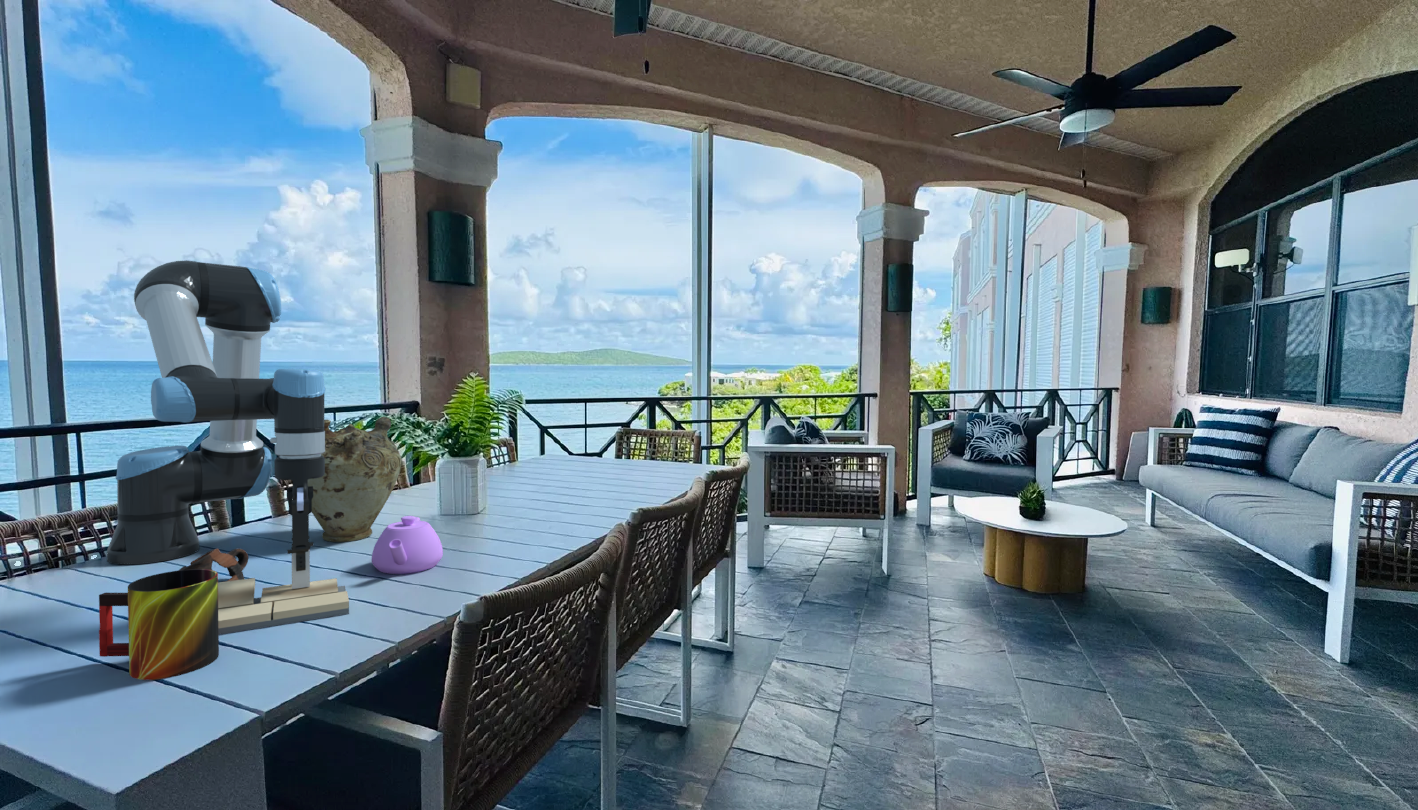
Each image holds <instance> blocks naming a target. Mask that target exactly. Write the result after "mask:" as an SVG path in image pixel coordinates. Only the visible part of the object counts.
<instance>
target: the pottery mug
mask: <svg viewBox="0 0 1418 810" xmlns="http://www.w3.org/2000/svg"><path fill="white" fill-rule="evenodd" d="M248 561H249V555H248V553H247V551H246V550H244V549H242V548H240V547H239V548H234V549H232V550H230V551H228V552H227V553H224V552H221V551H220V549H219V548H215V549H212V550H210V551H208V552H206V553H204V554H203V555H200V556H199V557H197V558H196V559H194V560H192V561H191V562H190V565H188V566H186V565H184V566H182V567H181V568H179V569H178V570H177V571H179V570H189V569H207V570H213V568H212V567H213V566H212V565H213V562H215V563H217V564H218V565H219V566H220V567H222V568H225V569H227V572H228V574H229V577H230V578H229V579H227V581H234V580H242V579H245V576H244V569H245V568H246V567H247V565H248Z"/></svg>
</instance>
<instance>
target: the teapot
mask: <svg viewBox="0 0 1418 810" xmlns="http://www.w3.org/2000/svg"><path fill="white" fill-rule="evenodd" d="M400 520H401V521H398V522H393V523H389V524H388V525H387V526H386V527H385V528H384V529H383V531H382V532H381V534H380V535H379V537H378V539H377V540H376V542H375V544H374V547H373V549H372V553H371V563H372V565H373V567H375V568H376V570H378V571H379V572H380V573H382V574H383V573H384V574H391V575H403V574H404V575H405V574H407V575H408V574H414V573H420V572H424V571H427V569H428V570H430V569H432V568H434V567H436V566H437V565H438V563H439V562H440V561H441V560H442V558H443V555H444V550H443V544H442V542H441V541H442V540H440V537H439V535H438V534H437V532H436V530H435V529H434V528H433V526H432V525H431V524H430V523H429V522H428V521H425V520H421V518H420V516H419V517H418V516H413V515H404V516H402V517H400Z"/></svg>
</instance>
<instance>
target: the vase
mask: <svg viewBox="0 0 1418 810" xmlns="http://www.w3.org/2000/svg"><path fill="white" fill-rule="evenodd" d="M330 425H331V420H330V419H327V418H326V419H324V431H325V452H324V453H322V454H321V455H322V456H323V457H324V458H325V474H324V475H323V476H322V477H319V478H315V479H308V486H313V498H312V512H311V514H312V515H313V517H314V518H315V520H316V521H317V522H318V524H319V525H320V527H321V529H322V530H323V532H322V535H321V537H322V539H323V540H324V541H326V542H331V543H344V542H353V541H361V540H363V539H364V540H365V539H366V538H368V537H371V536H372V534H373V529H372V526H373V525H374V523H375V522H376V519H377V518H378V516H379V514H380V513H381V511H382V509H383V508H384V506H385V505H386V503H387V501H388V500H389V498H390V496H391V494H392V492H393V490H394V488H395V486H396V484H397V480H398V479H399V478H398V477H399V475H400V473H401V470H402V458H401V455H400V451H399V449H398V448H397V445H396V444H395V441H392V440H391V439H390V438H389V437H388V431H389V430H390V428H391V427H392V422H391V418H389V417H386V416H381V417H379V418H377V420H376V421H375V424H374V426H375V427H374V428H373V429H371V430H365V429H364V430H363V429H359V428H358V427H355V426H354V425H353V424H352V423H349V424H348V425H347V426H345V427H343V428H339V429H338V430H334V431H332V430H330Z"/></svg>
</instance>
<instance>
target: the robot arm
mask: <svg viewBox="0 0 1418 810" xmlns="http://www.w3.org/2000/svg"><path fill="white" fill-rule="evenodd" d="M133 302H134V305H135V309H136V312H137V313H138V315H139V316H140V317H141V318H142V319H143V320H145V321H146V325H147V328H148V331H149V336H150V338H151V339H150V340H151V343H152V347H153V349H154V350H153V351H154V353H155V358H156V361H157V365H158V368H159V372H160V375H161V377H158V378H155V379H154V380H153V381H152V383H151V389H150V404H151V412H152V415H153V417H154V418H155V419H156V420H157V421H159V422H170V423H171V422H175V423H176V422H180V423H194V422H195V423H196V422H197V423H199V422H209V435H208V436H207V437H206V438H204V439H203V440H202V441H200V442H201V443H200V450H197V451H190V450H189V448H188V447H187V446H186V445H172V446H169V445H168V446H161V447H153V448H152V447H151V448H147V449H146V448H145V449H140V450H136V451H132V452H128V453H125V454H124V455H122V456H120V458H119V459H118V460H117V463H116V465H117V466H116V476H115V480H116V482H117V484H116V485H117V491H116V492H117V495H116V496H117V497H116V498H117V503H116V504H117V525H116V527H115V530H114V532H113V534H112V537H111V540H110V542H109V545H108V547H107V550H106V562H108V563H110V564H115V565H140V564H151V563H157V562H164V561H170V560H176V559H179V558H184V557H187V556H190V555H191V554H195V553H196V552H198V551H199V550H200V539H199V537H198V534H197V532H196V529H195V527H194V526H193V523H192V521H191V518H190V516H189V505H190V504H195V503H196V504H197V503H198V504H199V503H205V502H206V503H207V502H213V501H214V502H216V501H226V500H237V499H238V500H240V499H241V500H242V499H244V498H249V497H256V496H259V495H261V494H262V493H263V492H264V491H265V490H266V488H267V486H268V485H269V482H270V480H271V479H270V478H271V476H272V475H271V474H272V469H273V468H272V466H273V465H274V477H275V479H277V480H279V481H280V480H281V481H292V487H286V499H287V501H288V514H289V515H290V516H291V531H292V532H291V548H289V549H286V550H287V552H286V553H287V555H289V554H291V584H292V589H296V588H304V587H310V582H311V571H310V570H311V566H310V565H311V564H310V563H311V561H310V559H311V556H310V554H311V553H310V552H311V551H310V550H311V547H314V541H310V534H309V533H310V529H309V527H310V525H309V524H310V523H309V522H310V519H309V518H310V516H309V515H310V514H312V498H313V486H308V479H315V478H319V477H322V476H323V475H324V474H325V458H324V457H323V456H322V455H321V454H322V453H324V452H325V431H324V420H325V393H326V386H325V377H324V373H323V372H322V371H321V370H319V369H308V368H307V369H306V368H303V369H302V368H299V369H298V368H296V369H295V368H277V369H276V370H275V371H274V373H273V377H269V378H260V369H261V368H260V366H261V364H260V363H261V353H262V352H261V351H262V350H261V349H262V338H263V337H264V336H265V335H267V334H268V333H270V330H271V323H272V324H275V323H278V322H279V321H280V319H281V315H282V299H281V294H280V290H279V287H278V283H277V281H276V279H275V278H274V276H273V274H271V273H270V271H269V272H268V271H267V270H263V269H259V268H258V269H257V268H253V267H248V266H240V265H228V264H220V263H219V264H218V263H211V262H201V261H195V260H175V261H170V262H166V263H164V264H160V265H159V266H156V267H155V268H152V269H151V270H149V272H147V273H146V274H144V276H143V277H142V278H140V279H139V282H138V283H137V284H136V287H135V290H134V292H133ZM198 318H203V319H204V318H205V319H204V320H205V321H204V325H205V327H206V328H208V329H209V331H210V332H212V334H213V343H212V345H213V346H212V347H213V348H212V357H211V354H210V352H209V349H208V346H207V343H206V340H205V337H204V334H203V331H202V329H201V326H200V322H199V320H198ZM258 420H274V423H273V425H274V429H273V430H274V436H275V437H271V438H270V440H269V442H270V443H271V444H275V445H274V454H275V455H276V456H277V457H275V459H274V463H273V464H272V453H271V451H270V449H269V448H268V447H265V446H264V442H263V440H261V439H260V438H259V437H258V436H257V423H258Z"/></svg>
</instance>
